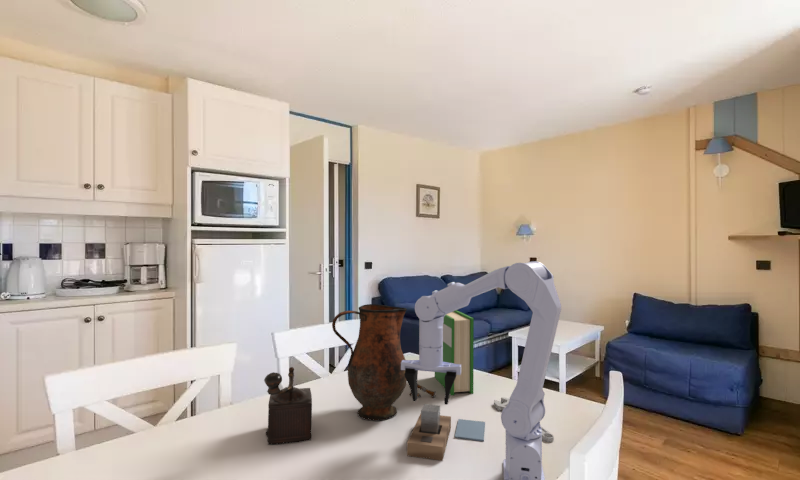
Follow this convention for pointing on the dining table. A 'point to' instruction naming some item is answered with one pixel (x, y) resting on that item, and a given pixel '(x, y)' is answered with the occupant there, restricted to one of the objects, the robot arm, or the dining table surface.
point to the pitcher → (376, 360)
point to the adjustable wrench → (545, 434)
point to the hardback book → (458, 350)
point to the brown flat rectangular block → (429, 441)
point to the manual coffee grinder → (288, 411)
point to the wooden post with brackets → (425, 391)
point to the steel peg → (430, 419)
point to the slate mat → (470, 430)
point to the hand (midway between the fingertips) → (430, 401)
